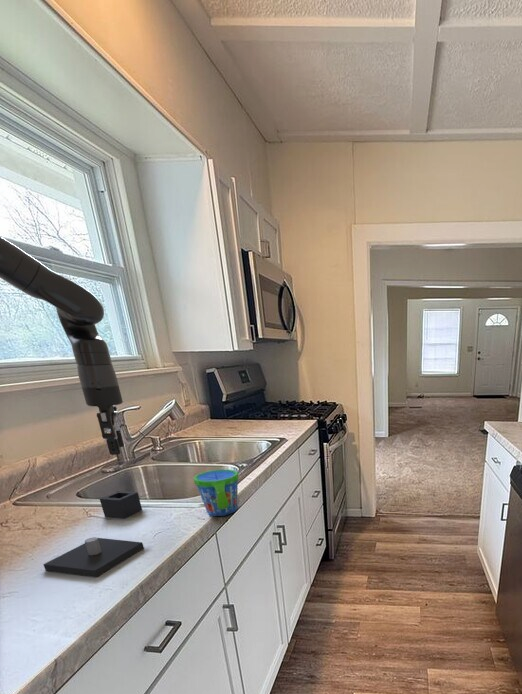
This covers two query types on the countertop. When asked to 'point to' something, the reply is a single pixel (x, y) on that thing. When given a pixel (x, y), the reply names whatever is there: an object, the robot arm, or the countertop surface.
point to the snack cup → (218, 491)
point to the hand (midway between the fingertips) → (117, 450)
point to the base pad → (94, 557)
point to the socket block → (121, 504)
